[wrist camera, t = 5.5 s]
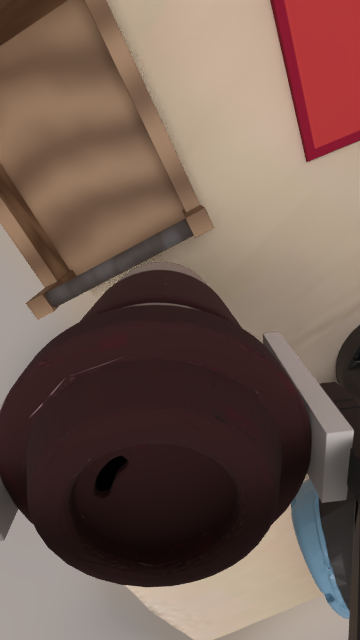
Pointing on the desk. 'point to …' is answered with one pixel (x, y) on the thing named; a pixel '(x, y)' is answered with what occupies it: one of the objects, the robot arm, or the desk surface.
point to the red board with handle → (322, 69)
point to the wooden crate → (83, 151)
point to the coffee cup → (154, 435)
